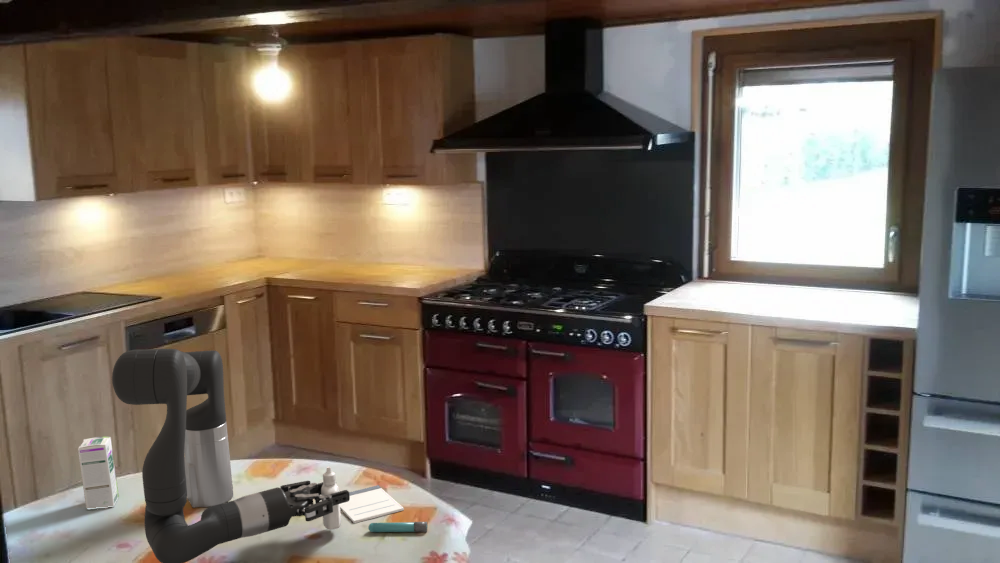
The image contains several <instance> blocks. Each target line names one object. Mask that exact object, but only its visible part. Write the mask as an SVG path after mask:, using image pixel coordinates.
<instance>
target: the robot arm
mask: <svg viewBox="0 0 1000 563" xmlns="http://www.w3.org/2000/svg"><path fill="white" fill-rule="evenodd" d="M112 368H113V369H112V373H111V374H112V375H111V380H112V381H111V382H112V388H113V391H114V393H115V395H116V396H117V398H118V399H119V400H120V401H121V402H122V403H124V404H127V405H131V406H133V405H134V406H138V405H139V406H141V405H159V404H160V405H166V414H165V415H166V416H165V420H164V423H163V426H162V427H161V429H160V432H159V433H158V435H157V437H156V439H155V440H154V441H153V443H152V445H151V446H150V449H149V450H148V452H147V453H146V456H145V458H144V461H143V465H142V470H141V471H142V474H141V475H142V476H141V478H142V486H143V494H144V502H145V508H144V533H145V534H144V535H145V537H146V540H147V543H148V545H149V546H150V548H151V550H152V552H153V556H155V558H156V559H157V561H159V563H187V562H189V561H191V560H194V559H196V558H197V557H199V556H201V555H203V554H204V553H207V552H208V551H210V550H212V549H213V548H214V547H216V546H218V545H221V544H224V543H225V544H226V543H228V542H232V541H234V540H235V541H236V540H238V539H242V538H248V537H253V536H257V535H261V534H264V533H268V532H271V531H274V530H278V529H281V528H284V527H287V526H288V525H289V523H290V521H291V519H292V517H293V518H294V517H301V516H304V517H305V522H312V521H314V520H317V519H320V518H321V517H322V518H323V516H325V515H327V514H330V513H332V512H333V506H334V505H338V504H341V503H344V502H348V501H349V500H350V496H349V492H350V491H349V490H348V489H344V490H341V491H340V490H339V492H336V493H333V494H330V495H321V487H322V485H323V482H320V483H317V482H312V483H311V481H310V480H304V481H299V482H293V483H287V484H284V485H280V487H274V488H270V489H267V490H263V491H259V492H254V493H251V494H248V495H244V496H243V495H242V496H241V497H239V498H236V499H233V500H231V499H232V498H234V487H233V485H234V484H233V476H232V467H231V466H232V465H231V456H230V448H229V447H230V446H229V445H230V444H229V434H228V424H227V413H226V402H225V389H224V388H225V386H224V384H225V383H224V364H223V359H222V356H221V354H220V353H219V351H217V350H213V349H212V350H200V351H199V350H198V351H196V350H195V351H181V350H179V349H178V348H152V349H151V348H147V349H143V348H141V349H132V350H127V351H125V352H123V353H122V354H121V355H119V357H118V358H117V359H116V362H115V364H114V365H113V367H112ZM196 395H207V399H205V400H204V401H202V402H201V403H199V404H197V405H194V406H191V407H189V408H188V409H187V407H188V406H187V404H188V403H187V402H188V400H187V399H188V396H196ZM230 500H231V501H230ZM322 500H324V501H322ZM187 501H188V502H189V503H190V505H191V507H192V508H193V509H194V508H198V507H199V508H200V507H201V508H202V507H203V508H204V507H205V509H204V510H203V511H202V513H201V515H200V520H199V521H196V522H194V523H192V524H189V525H188V524H187V521H186V519H185V513H184V507H185V506H186V504H187ZM314 501H315V503H314ZM324 509H326V510H324Z"/></svg>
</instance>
